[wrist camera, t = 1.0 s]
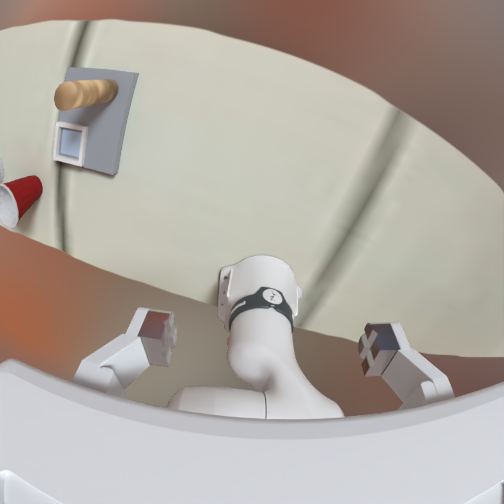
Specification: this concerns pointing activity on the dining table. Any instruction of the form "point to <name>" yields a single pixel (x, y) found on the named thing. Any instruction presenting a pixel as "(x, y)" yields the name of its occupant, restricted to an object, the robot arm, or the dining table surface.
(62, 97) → the oak column
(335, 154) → the dining table surface
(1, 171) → the french press
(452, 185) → the dining table surface
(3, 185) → the plastic cup
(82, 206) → the dining table surface
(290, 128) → the dining table surface
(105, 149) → the board
